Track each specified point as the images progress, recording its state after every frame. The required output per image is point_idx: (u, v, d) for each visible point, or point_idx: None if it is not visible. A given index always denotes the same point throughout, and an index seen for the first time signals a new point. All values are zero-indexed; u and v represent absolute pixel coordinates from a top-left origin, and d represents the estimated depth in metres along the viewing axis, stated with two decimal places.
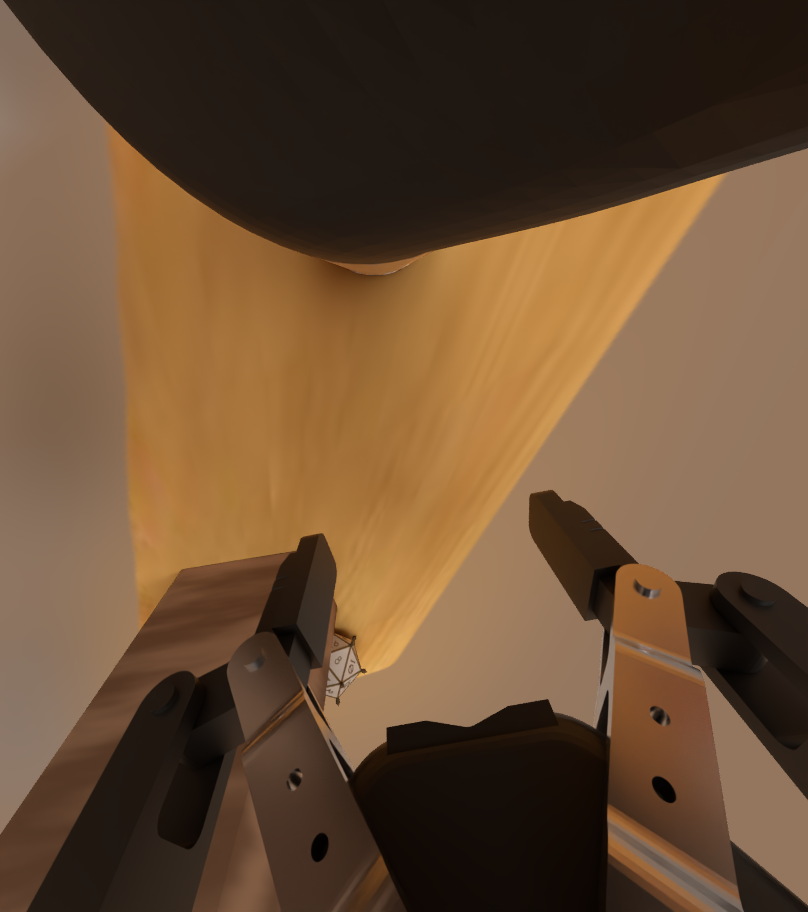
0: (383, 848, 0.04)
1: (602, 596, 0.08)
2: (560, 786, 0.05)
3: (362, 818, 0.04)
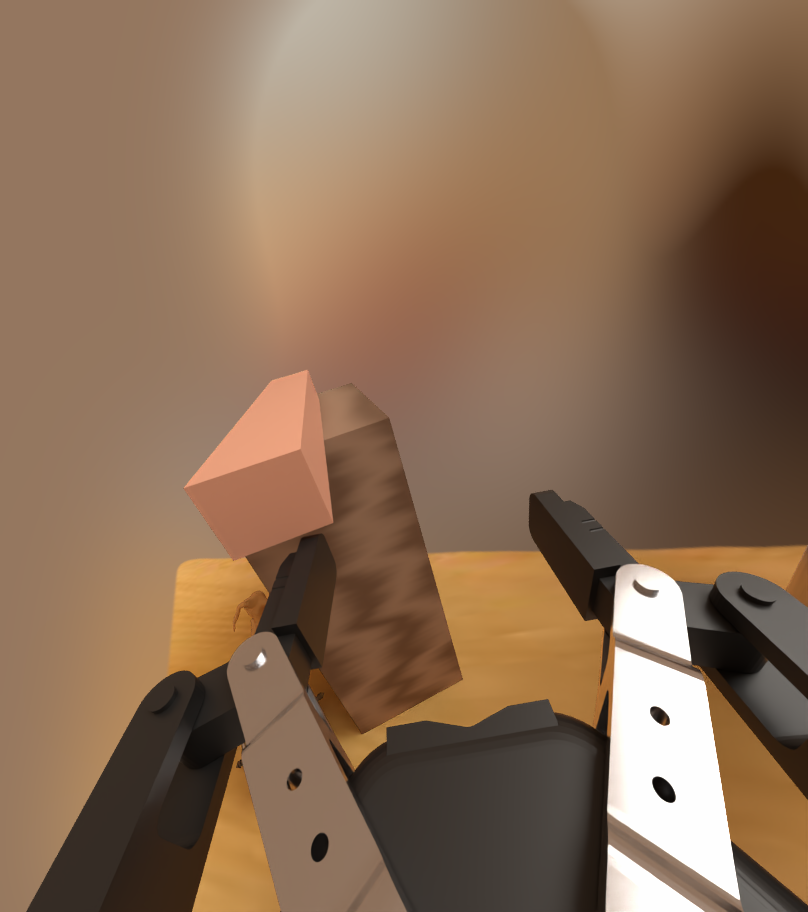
0: (383, 848, 0.04)
1: (602, 596, 0.08)
2: (560, 786, 0.05)
3: (362, 818, 0.04)
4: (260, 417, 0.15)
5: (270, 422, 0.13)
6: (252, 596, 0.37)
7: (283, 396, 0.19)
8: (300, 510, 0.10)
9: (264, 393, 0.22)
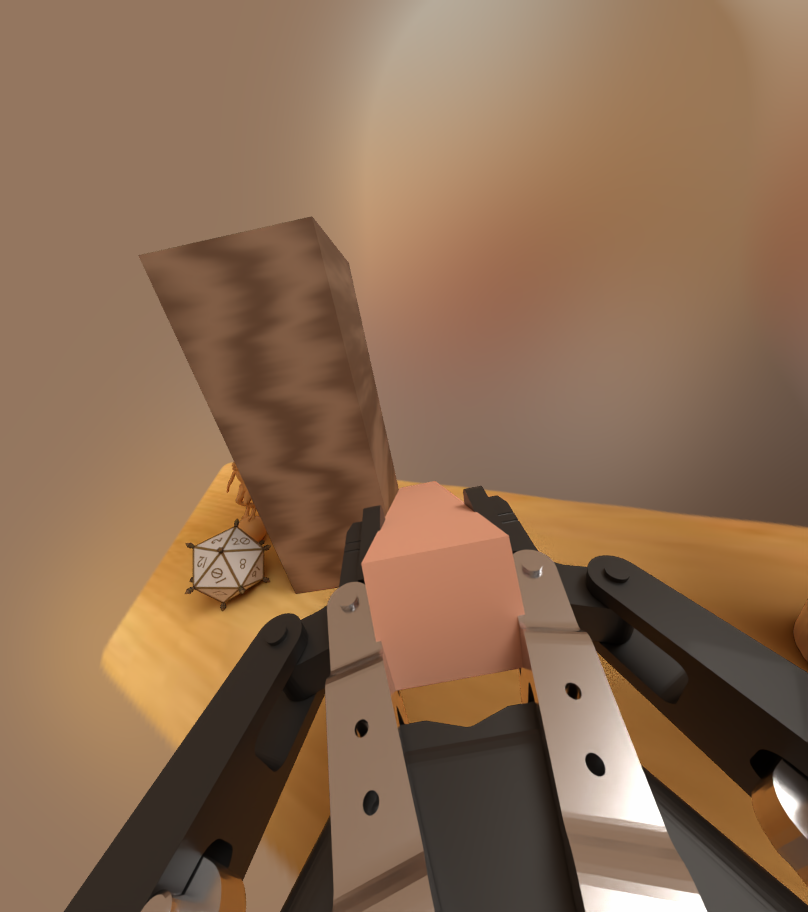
0: (426, 841, 0.04)
1: None
2: (560, 786, 0.05)
3: (412, 803, 0.04)
4: (412, 510, 0.14)
5: (430, 513, 0.12)
6: None
7: (426, 496, 0.18)
8: (491, 631, 0.07)
9: (400, 495, 0.22)
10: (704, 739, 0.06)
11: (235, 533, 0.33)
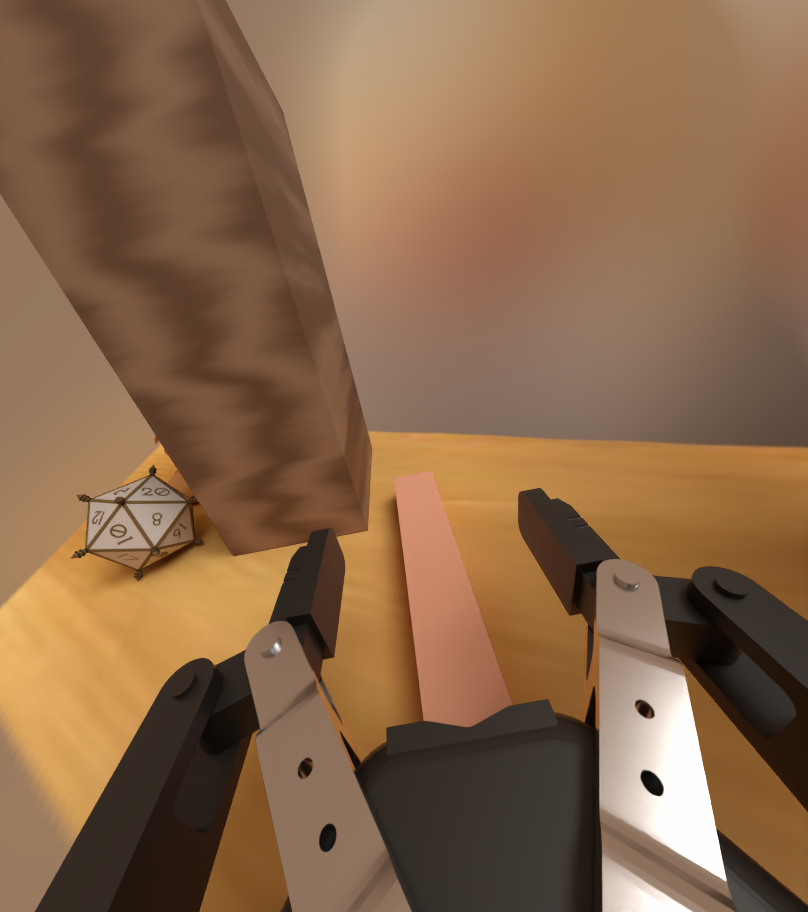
0: (390, 845, 0.04)
1: (584, 591, 0.08)
2: (560, 786, 0.05)
3: (370, 814, 0.04)
4: (441, 647, 0.14)
5: (468, 689, 0.12)
6: None
7: (440, 572, 0.17)
8: None
9: (405, 533, 0.21)
10: (802, 786, 0.05)
11: (149, 482, 0.25)
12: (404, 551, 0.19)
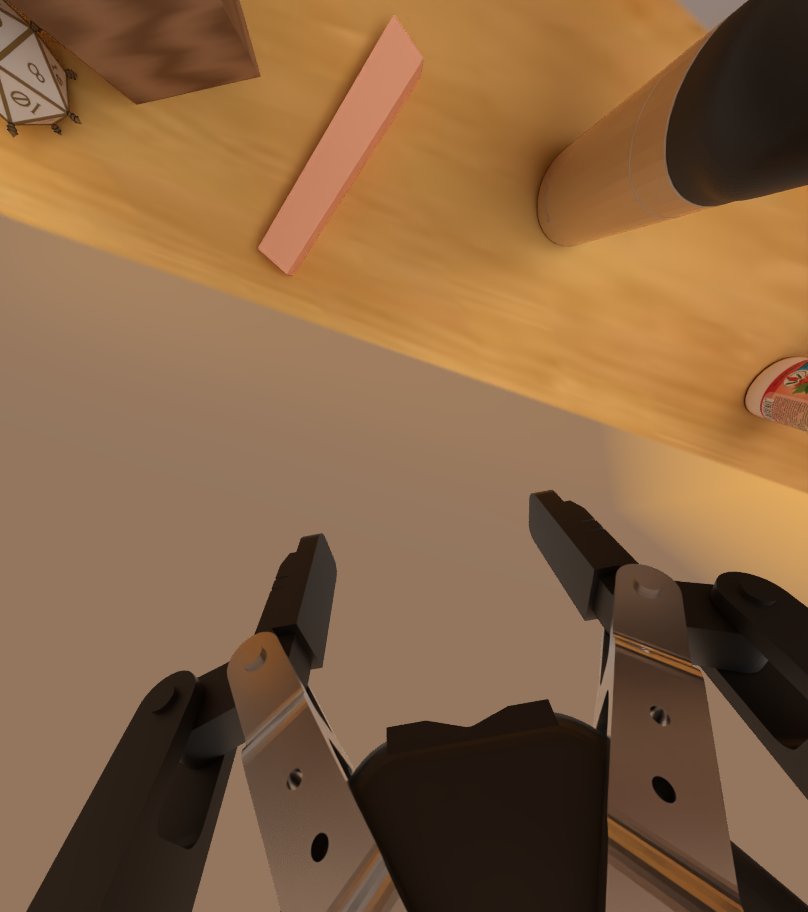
0: (383, 848, 0.04)
1: (602, 596, 0.08)
2: (560, 786, 0.05)
3: (362, 818, 0.04)
4: (303, 199, 0.30)
5: (299, 222, 0.31)
6: None
7: (334, 167, 0.29)
8: None
9: (343, 109, 0.27)
10: None
11: None
12: (330, 125, 0.28)
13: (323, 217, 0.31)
